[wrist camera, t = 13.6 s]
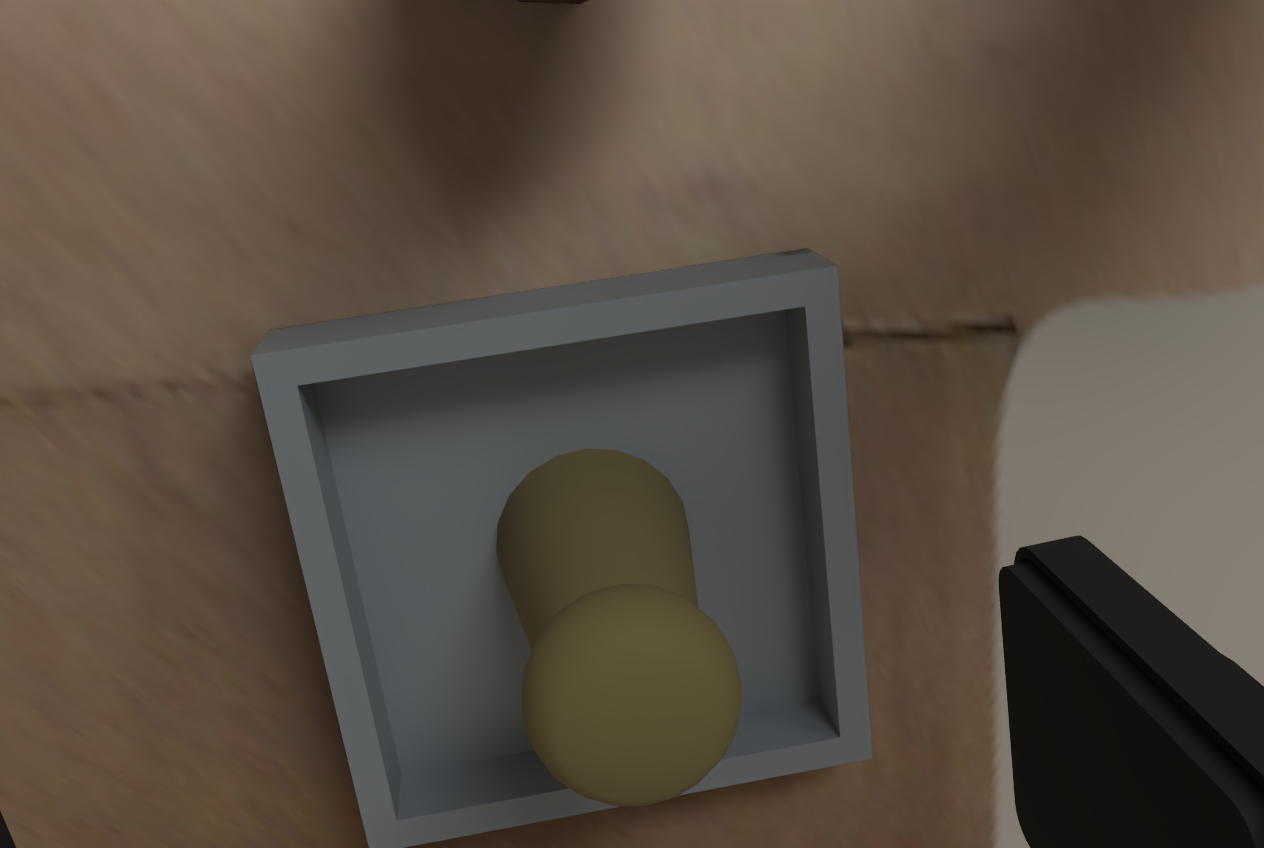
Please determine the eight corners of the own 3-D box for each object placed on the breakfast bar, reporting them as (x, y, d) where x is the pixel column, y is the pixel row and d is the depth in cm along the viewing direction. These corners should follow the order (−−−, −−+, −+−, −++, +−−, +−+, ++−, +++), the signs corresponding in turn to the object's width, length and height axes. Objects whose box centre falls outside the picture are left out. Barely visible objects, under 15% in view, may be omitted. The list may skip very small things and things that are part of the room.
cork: (661, 641, 38) (733, 866, 27) (477, 610, 36) (478, 832, 26) (711, 468, 36) (807, 637, 26) (519, 430, 35) (539, 590, 24)
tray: (808, 248, 35) (837, 265, 32) (844, 708, 40) (872, 758, 37) (269, 330, 34) (250, 355, 31) (377, 795, 39) (370, 853, 36)
